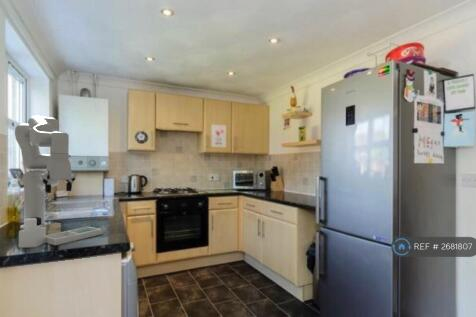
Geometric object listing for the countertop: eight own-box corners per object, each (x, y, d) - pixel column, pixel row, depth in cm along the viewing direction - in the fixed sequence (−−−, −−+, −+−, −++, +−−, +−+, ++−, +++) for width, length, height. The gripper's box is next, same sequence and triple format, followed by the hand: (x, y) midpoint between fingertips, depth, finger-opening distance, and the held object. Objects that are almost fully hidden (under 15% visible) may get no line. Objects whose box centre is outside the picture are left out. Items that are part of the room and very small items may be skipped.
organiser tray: (41, 241, 127) (41, 236, 127) (87, 231, 147) (87, 226, 147) (55, 245, 122) (55, 239, 122) (102, 234, 141) (102, 229, 141)
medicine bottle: (29, 243, 125) (29, 216, 125) (46, 242, 125) (46, 216, 126) (18, 247, 118) (18, 219, 118) (35, 247, 118) (36, 219, 118)
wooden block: (44, 236, 136) (44, 224, 136) (55, 234, 141) (55, 222, 141) (50, 237, 134) (50, 225, 134) (60, 235, 138) (61, 223, 138)
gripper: (72, 157, 147) (71, 190, 147) (36, 156, 132) (35, 193, 131) (81, 157, 144) (80, 190, 143) (44, 156, 128) (44, 194, 128)
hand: (58, 191), depth 137 cm, fingers open, 9 cm apart
